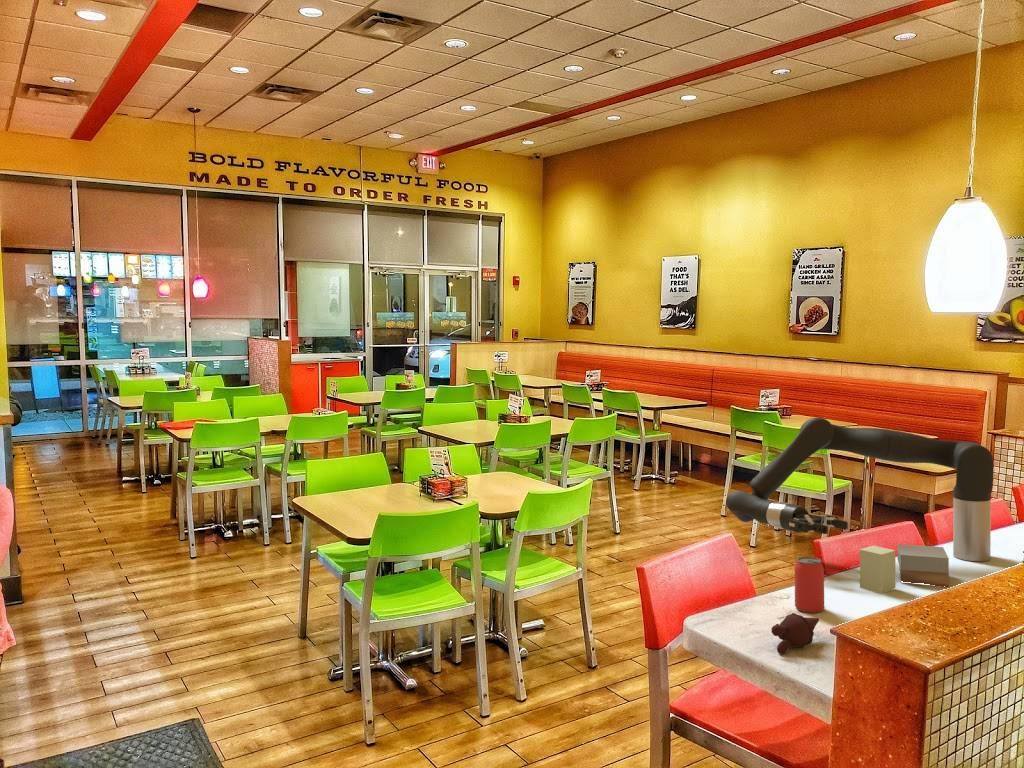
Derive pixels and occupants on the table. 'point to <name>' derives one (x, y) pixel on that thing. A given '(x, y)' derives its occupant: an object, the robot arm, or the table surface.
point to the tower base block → (925, 577)
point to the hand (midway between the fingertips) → (837, 527)
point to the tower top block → (922, 558)
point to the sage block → (877, 569)
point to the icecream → (794, 631)
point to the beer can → (809, 585)
